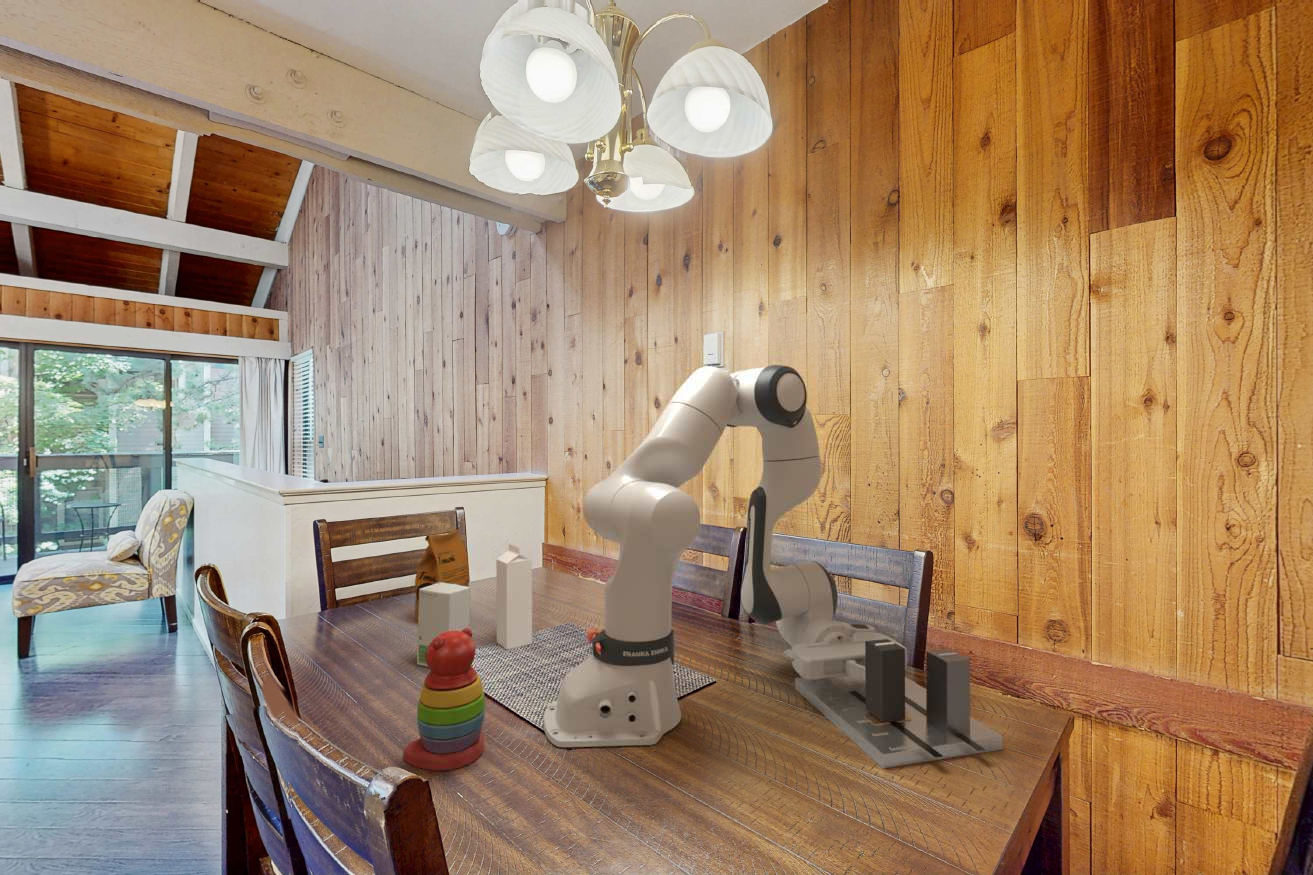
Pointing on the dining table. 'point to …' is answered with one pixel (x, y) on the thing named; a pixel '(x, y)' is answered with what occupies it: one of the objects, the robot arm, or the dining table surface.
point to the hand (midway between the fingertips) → (875, 675)
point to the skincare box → (441, 613)
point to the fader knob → (885, 680)
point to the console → (908, 714)
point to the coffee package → (442, 563)
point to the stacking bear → (449, 706)
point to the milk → (514, 599)
